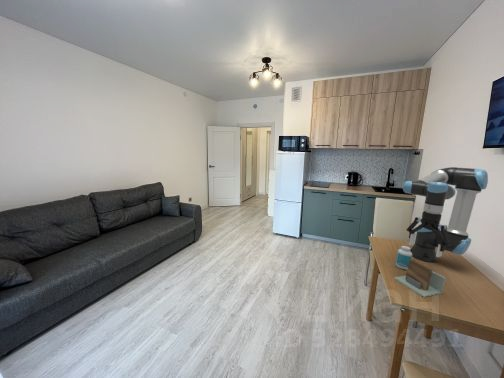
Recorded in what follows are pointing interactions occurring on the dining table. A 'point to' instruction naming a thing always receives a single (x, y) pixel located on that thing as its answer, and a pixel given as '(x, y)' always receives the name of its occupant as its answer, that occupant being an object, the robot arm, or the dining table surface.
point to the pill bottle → (403, 257)
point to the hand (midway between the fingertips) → (424, 250)
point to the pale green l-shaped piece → (434, 286)
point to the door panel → (419, 273)
